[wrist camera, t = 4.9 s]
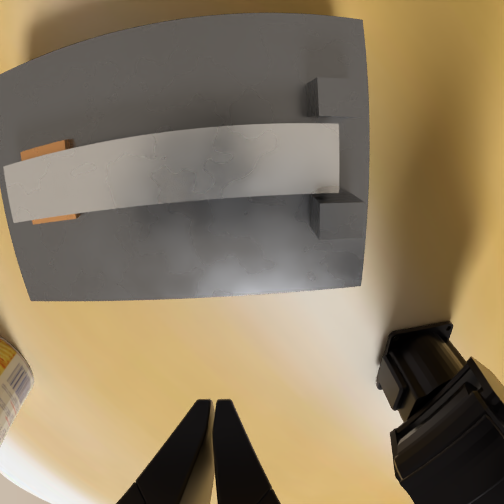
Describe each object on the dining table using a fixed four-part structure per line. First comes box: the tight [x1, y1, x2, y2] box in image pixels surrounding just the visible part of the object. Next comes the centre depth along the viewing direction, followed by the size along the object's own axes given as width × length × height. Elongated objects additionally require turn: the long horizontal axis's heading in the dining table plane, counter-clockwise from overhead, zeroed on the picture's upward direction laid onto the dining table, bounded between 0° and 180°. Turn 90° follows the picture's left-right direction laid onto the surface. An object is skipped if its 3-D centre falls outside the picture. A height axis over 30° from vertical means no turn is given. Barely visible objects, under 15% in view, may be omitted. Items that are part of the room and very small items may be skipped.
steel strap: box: [3, 123, 339, 223], centre depth 13 cm, size 16×3×1 cm, turn 92°
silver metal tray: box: [0, 13, 369, 301], centre depth 15 cm, size 20×14×6 cm
